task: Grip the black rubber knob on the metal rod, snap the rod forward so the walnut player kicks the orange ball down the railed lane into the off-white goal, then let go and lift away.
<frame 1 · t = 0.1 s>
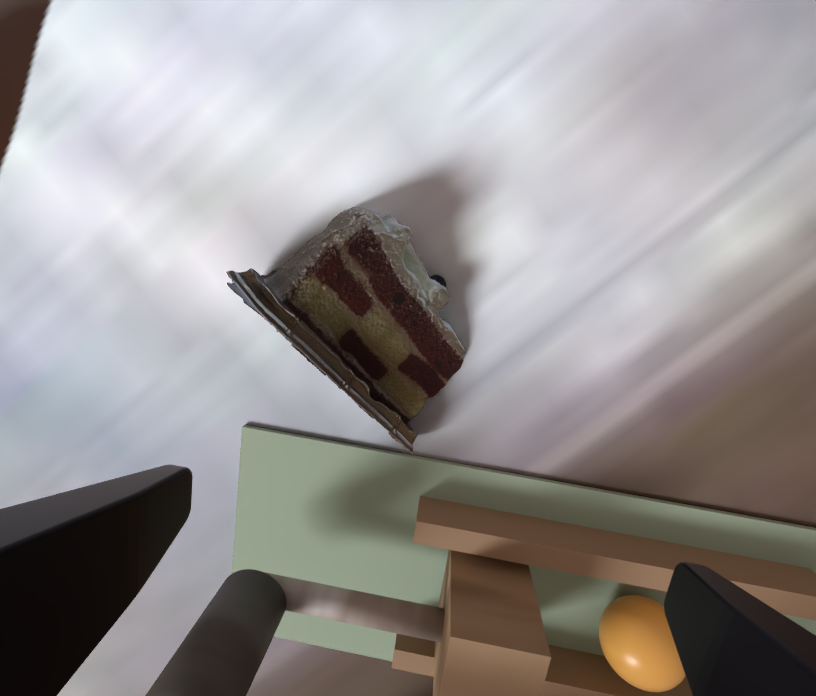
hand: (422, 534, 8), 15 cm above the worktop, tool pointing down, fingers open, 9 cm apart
ball: (642, 641, 22), point 2 cm above the worktop, touching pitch
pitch: (587, 598, 24), on the worktop
sled: (367, 641, 20), point 5 cm above the worktop, slide at 0.0 cm
chocolate cake: (384, 314, 23), on the worktop
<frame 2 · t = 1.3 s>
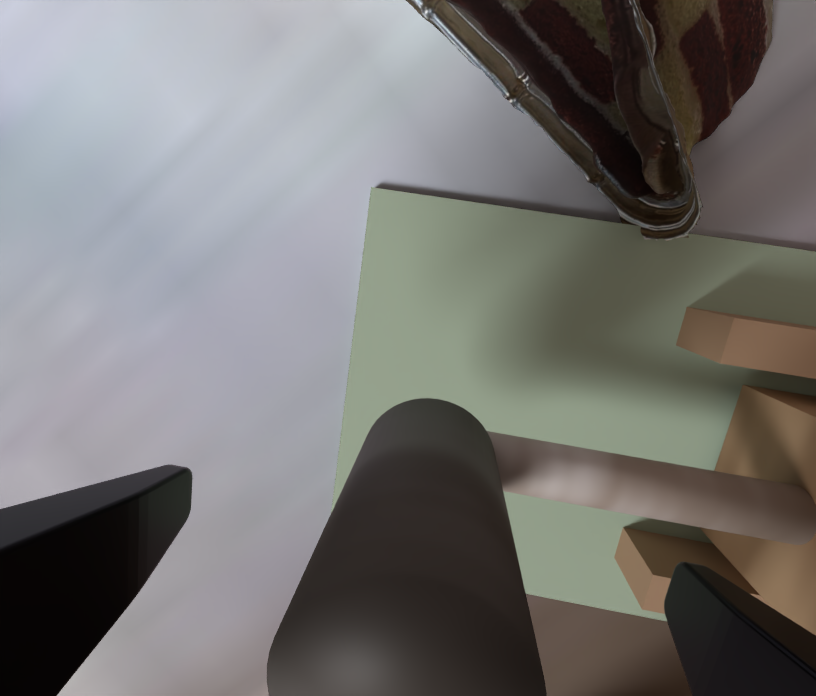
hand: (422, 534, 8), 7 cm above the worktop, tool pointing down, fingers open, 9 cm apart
sled: (691, 531, 9), point 5 cm above the worktop, slide at 0.0 cm
chocolate cake: (603, 3, 13), on the worktop
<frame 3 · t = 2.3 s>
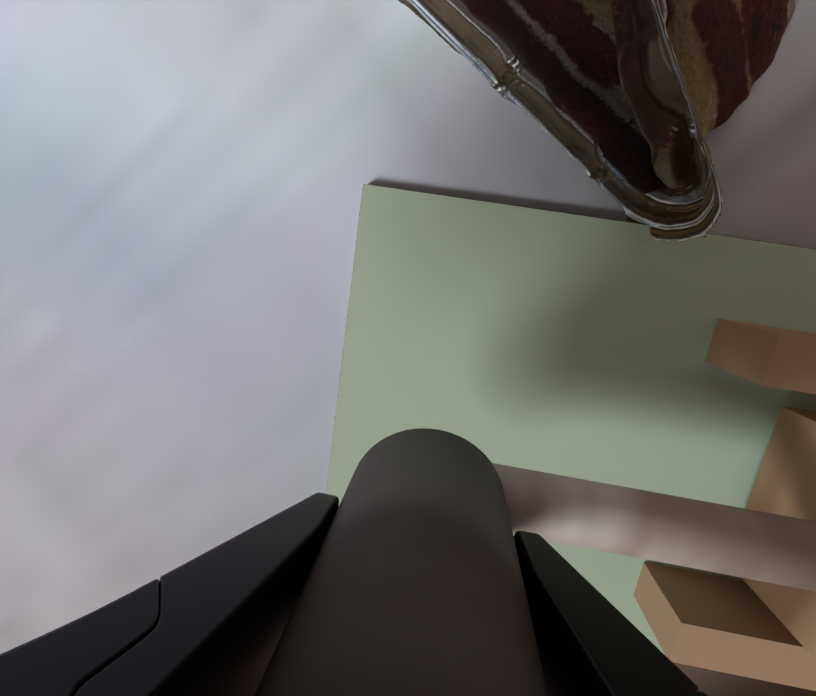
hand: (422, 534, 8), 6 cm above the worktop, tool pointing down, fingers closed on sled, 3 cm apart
sled: (739, 590, 8), point 5 cm above the worktop, slide at 0.0 cm, touching gripper
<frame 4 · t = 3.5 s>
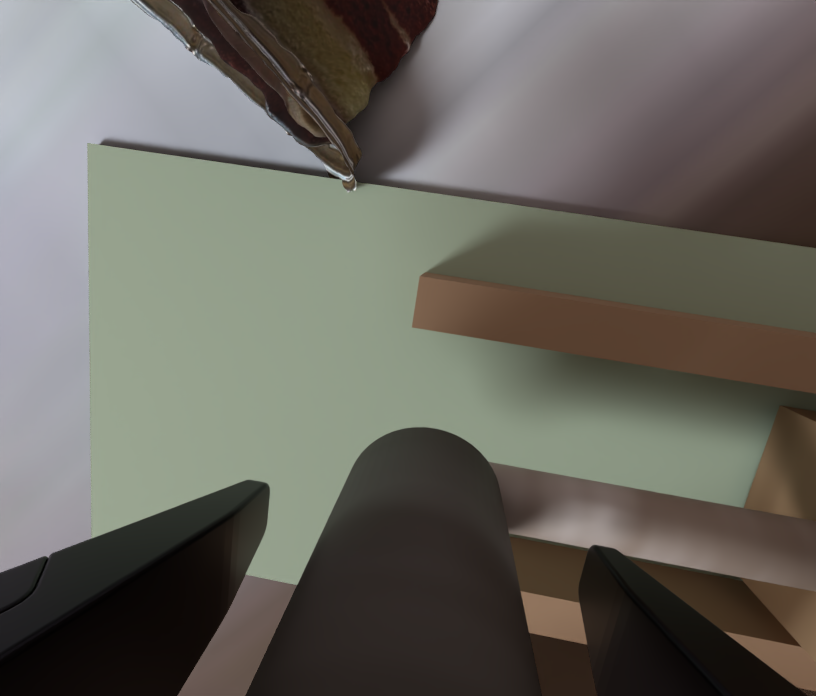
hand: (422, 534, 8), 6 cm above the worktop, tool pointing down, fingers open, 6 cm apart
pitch: (739, 474, 13), on the worktop
sled: (736, 590, 8), point 6 cm above the worktop, slide at 7.9 cm
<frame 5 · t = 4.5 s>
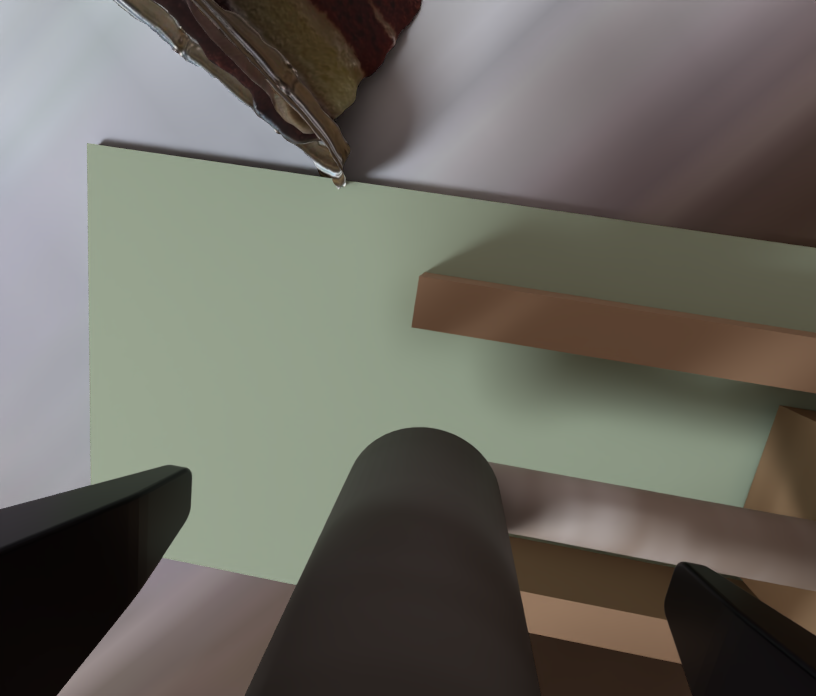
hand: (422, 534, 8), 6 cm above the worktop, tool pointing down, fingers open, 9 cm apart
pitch: (739, 474, 13), on the worktop
sled: (736, 590, 8), point 6 cm above the worktop, slide at 7.9 cm
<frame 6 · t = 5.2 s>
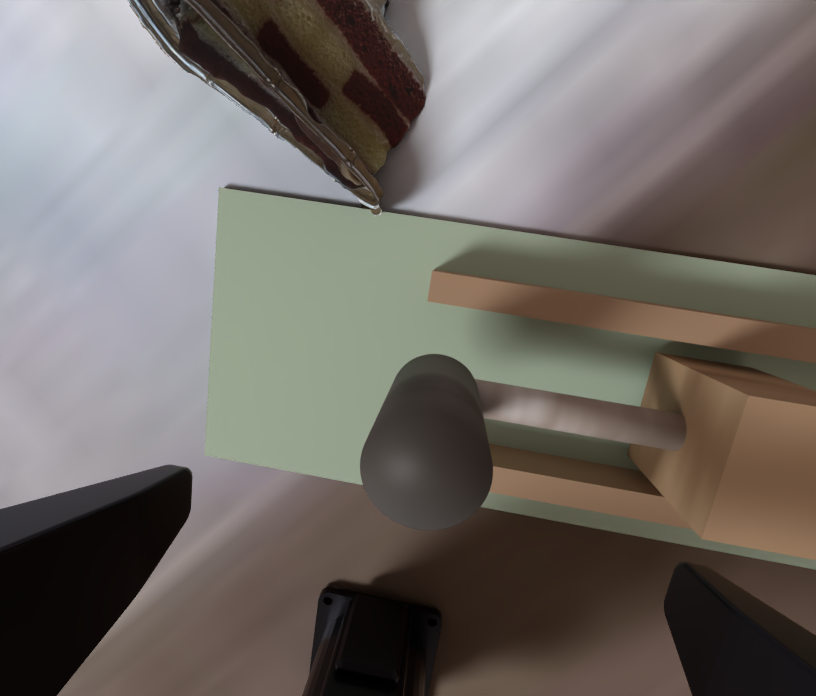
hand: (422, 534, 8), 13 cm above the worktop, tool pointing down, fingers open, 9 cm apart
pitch: (637, 400, 20), on the worktop
sled: (600, 434, 15), point 5 cm above the worktop, slide at 7.9 cm
chocolate cake: (325, 63, 19), on the worktop
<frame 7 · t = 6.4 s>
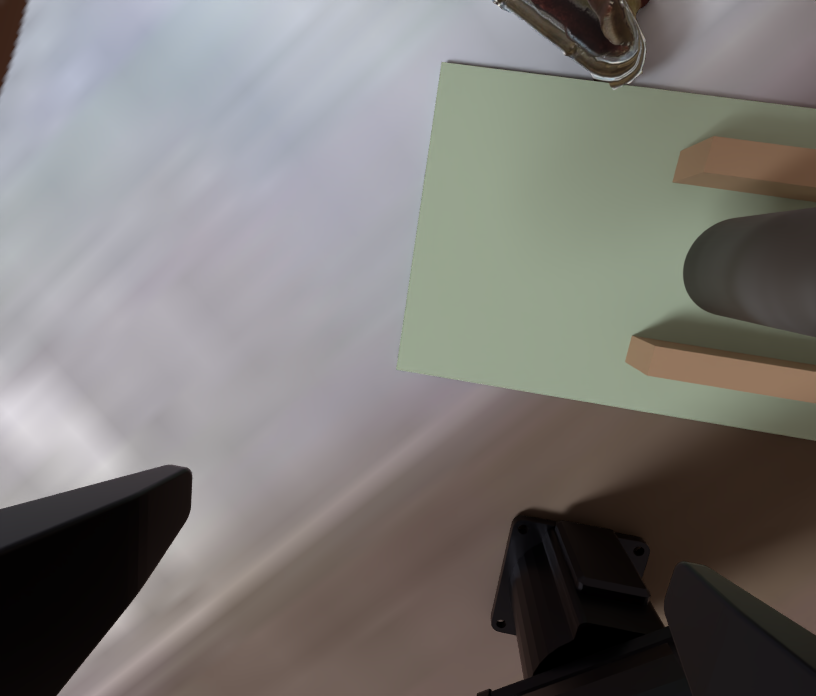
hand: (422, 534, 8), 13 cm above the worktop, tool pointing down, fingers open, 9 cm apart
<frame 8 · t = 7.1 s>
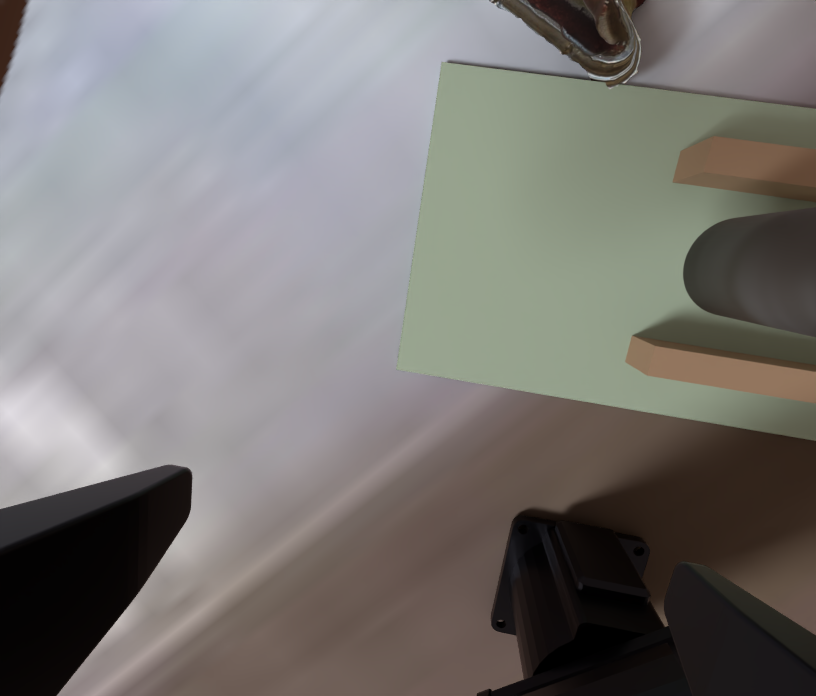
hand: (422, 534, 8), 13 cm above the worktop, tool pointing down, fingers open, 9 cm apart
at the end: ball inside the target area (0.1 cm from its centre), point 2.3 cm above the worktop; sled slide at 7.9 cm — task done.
